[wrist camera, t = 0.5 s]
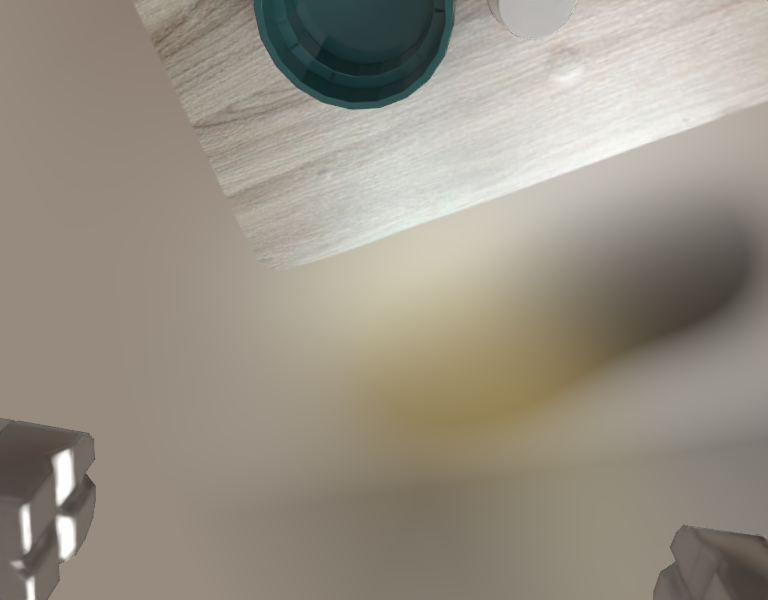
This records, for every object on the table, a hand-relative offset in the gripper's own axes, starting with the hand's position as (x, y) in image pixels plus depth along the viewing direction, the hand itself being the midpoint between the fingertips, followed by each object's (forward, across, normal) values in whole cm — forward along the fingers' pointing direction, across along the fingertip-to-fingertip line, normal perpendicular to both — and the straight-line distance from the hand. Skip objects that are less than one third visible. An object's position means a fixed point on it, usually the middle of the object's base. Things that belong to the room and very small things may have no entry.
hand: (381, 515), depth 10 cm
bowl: (+52, +5, -7) cm, 52 cm away
